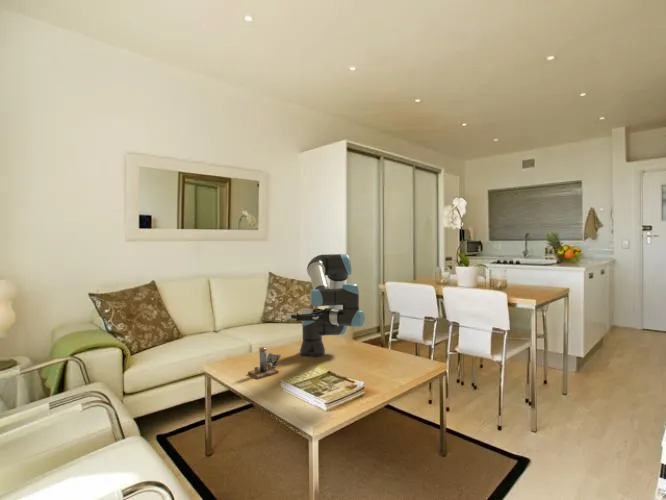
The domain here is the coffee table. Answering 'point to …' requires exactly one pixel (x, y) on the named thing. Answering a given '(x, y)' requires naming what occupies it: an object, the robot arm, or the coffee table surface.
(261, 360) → the pin
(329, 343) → the coffee table surface
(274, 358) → the mineral specimen
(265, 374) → the peg rack
